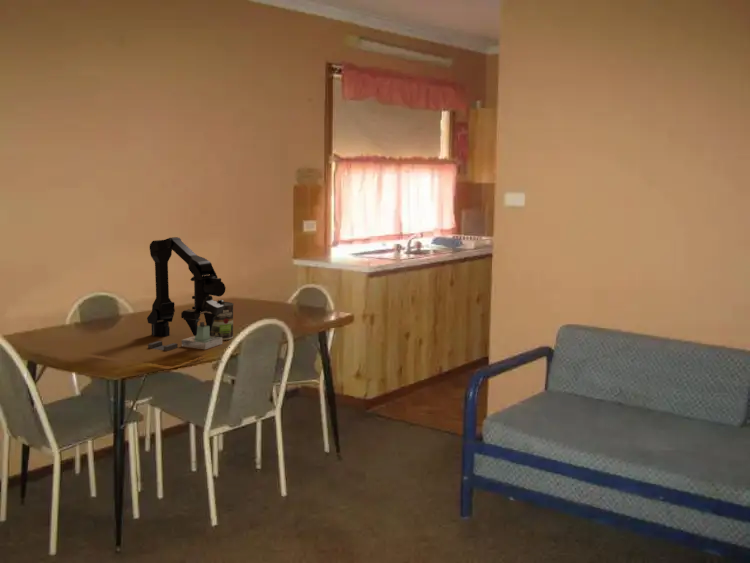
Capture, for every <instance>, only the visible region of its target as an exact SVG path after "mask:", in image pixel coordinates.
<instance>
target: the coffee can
mask: <svg viewBox="0 0 750 563" xmlns="http://www.w3.org/2000/svg"><path fill="white" fill-rule="evenodd" d="M224 307H225V308H224V309H222V312H221V313H220V314H219V315H218V316H216V317H215V320H214V323H213V326H212V329H211V331H210V336H215V337H222V341H228V340H232V339H233V338H234V303H233V302H231V301H224Z"/></svg>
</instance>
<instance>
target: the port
mask: <svg viewBox="0 0 750 563" xmlns="http://www.w3.org/2000/svg"><path fill="white" fill-rule="evenodd" d="M220 345H223V340H222V337H215V336H210V339H208V340H205V341H202V340H195V336H194V335H193V336H190V337H187V338H183V339H181V347H185V348H191V349H199V350H208V349H212V348H215V347H217V346H220Z"/></svg>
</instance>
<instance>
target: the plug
mask: <svg viewBox="0 0 750 563" xmlns="http://www.w3.org/2000/svg"><path fill="white" fill-rule="evenodd" d="M208 339H210V326H207V325H205V321H201V322H199V325H198V324H197V335H196V336H195V340H202V341H205V340H208Z"/></svg>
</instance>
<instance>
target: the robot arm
mask: <svg viewBox="0 0 750 563" xmlns="http://www.w3.org/2000/svg"><path fill="white" fill-rule="evenodd" d="M173 252H174V253H175V254H176V255H177V256H178V257H179V258H180V259H181V260H183V261H184V263H186V264H187V265H188V268H187V269H188V270H189V271H190V273H191V274H192V275H193V276H192V277H191V278H190V281H191V282H193V286H194V288H193V289H194V290H193V291H194V292H193V294H194V295H192V296H191V299H192V300H194V301H193V302H194V305H193V306H192V307H191V309H189V308H188V309H185V310H182V311H181V313H180V314H181V315H180V316H181V317H180V318H181V319H183V320H184V321H185V323H187V326H188V327H189V329H190V330H191V334H192V335H193V336H196V335H197V326H198V323H199V321H200V320H201V318H200V317H201V315H203V316H204V319H205V321H204V322H205V323H206V325H207V326H210V331H211V329H212V326H213V323H214V320H215V317H216V316H218V315H219V314H220V313H221V312H222V309H224V308H225V307H224V302H225V300H223V299H219V300H218V301H217V300H213V296H215V297H222V296H224V294H225V292H226V289H227V288H226V285H225V283H224V282H223V281H222V278H220V277H218V275H217V273H216V271H215V268H214V267H213V264H212V262H211V261H210V260H208V259H207V258H205V257H202V256H199V255H197V254H196V253H195V252H194V251H193V250H192V249H190V247H189V246H187V245H186V243H184V242H183V241H182V239H181V238H180V237H178V236H177V237H176V236H174V237H168V238H165V239H155V240H152V241H151V242H150V243H149V253H150V257H151V259H152V260H153V261H154V275H155V298H154V301H153V303H152V306H151V312H150V314H148V316H147V318H146V320H147V324H150V325H151V336H154V337H157V338H159V337H160V338H161V337H162V338H163V337H166V338H167V337H170V335H171V334H170V333H171V332H170V326H169V324H170V322H171V323H172V322H173V319H174V316H175V312H176V309H175V305H176V304H175V302H174V301H172V300H171V298H170V292H169V290H170V289H169V288H170V287H169V285H170V284H169V262H170V261H169V260H170V259H171V257H172V253H173Z"/></svg>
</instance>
